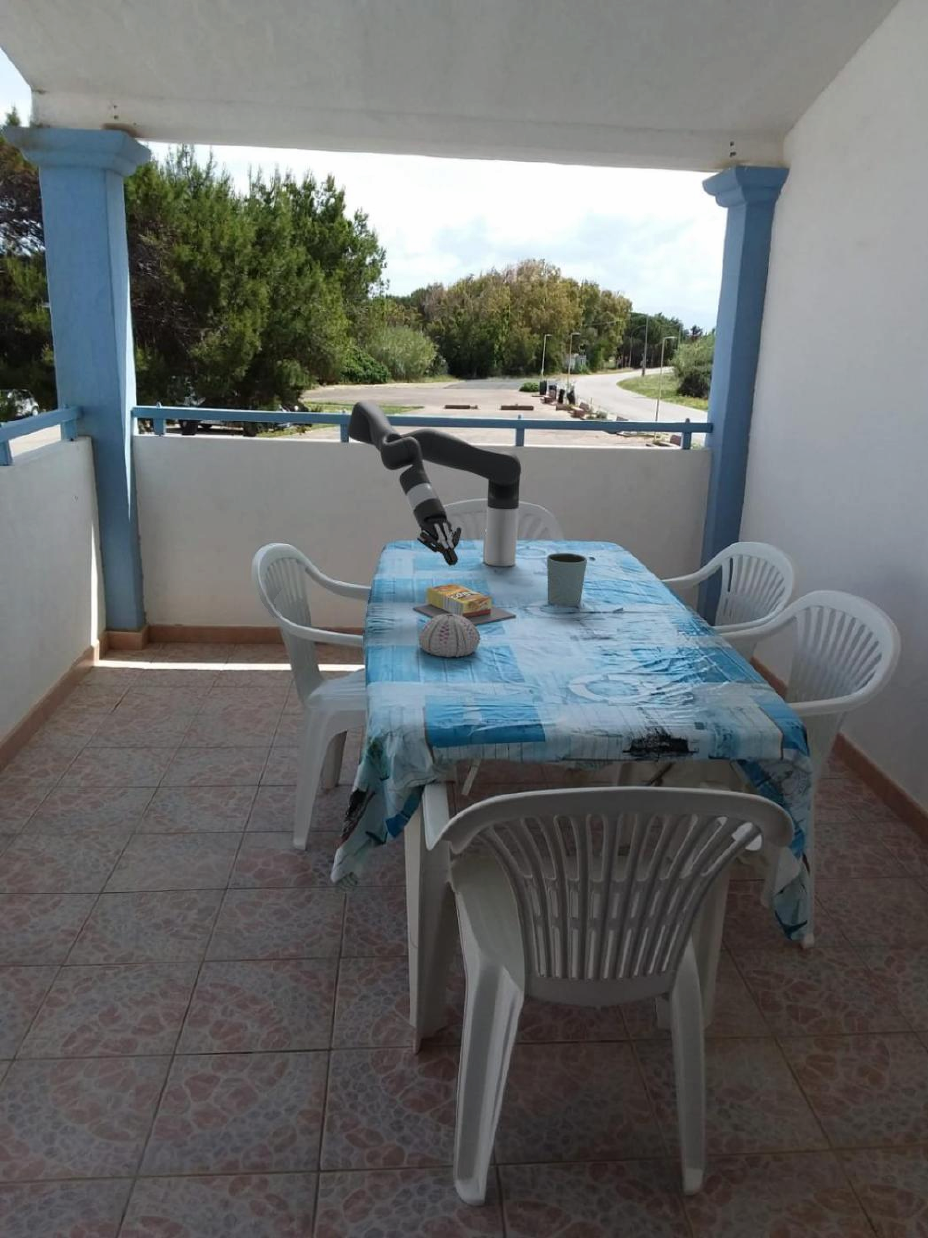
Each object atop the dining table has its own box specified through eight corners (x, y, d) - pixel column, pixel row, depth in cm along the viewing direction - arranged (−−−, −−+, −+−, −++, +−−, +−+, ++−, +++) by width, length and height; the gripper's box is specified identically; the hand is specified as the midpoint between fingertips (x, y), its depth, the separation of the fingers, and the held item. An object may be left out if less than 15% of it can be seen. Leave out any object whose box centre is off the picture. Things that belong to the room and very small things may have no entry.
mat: (412, 609, 213) (412, 607, 213) (470, 598, 224) (470, 596, 224) (457, 629, 200) (457, 627, 200) (515, 617, 210) (516, 615, 210)
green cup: (586, 600, 227) (590, 555, 223) (578, 610, 218) (582, 564, 214) (549, 595, 230) (552, 551, 226) (539, 605, 221) (542, 559, 217)
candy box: (454, 582, 220) (492, 597, 209) (453, 598, 222) (491, 613, 210) (425, 587, 215) (463, 602, 204) (425, 603, 217) (462, 619, 205)
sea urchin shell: (458, 666, 178) (459, 629, 175) (404, 652, 184) (405, 616, 182) (490, 648, 188) (492, 613, 186) (439, 636, 195) (440, 602, 193)
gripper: (440, 512, 224) (467, 568, 219) (398, 516, 216) (425, 575, 211) (453, 495, 218) (482, 552, 213) (410, 499, 211) (438, 558, 205)
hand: (453, 563), depth 212 cm, fingers closed
